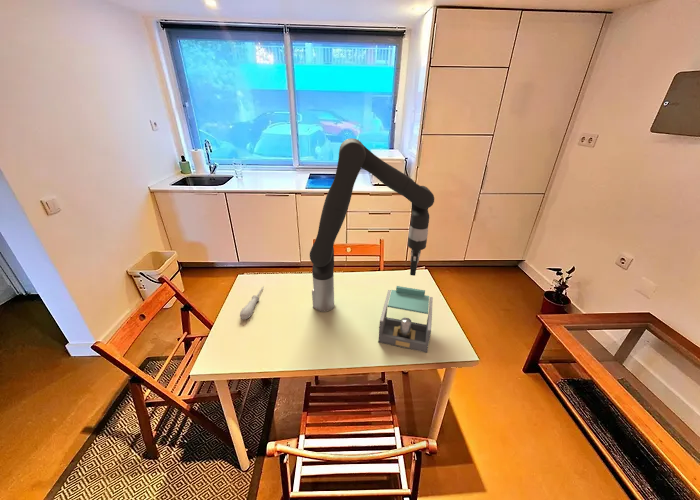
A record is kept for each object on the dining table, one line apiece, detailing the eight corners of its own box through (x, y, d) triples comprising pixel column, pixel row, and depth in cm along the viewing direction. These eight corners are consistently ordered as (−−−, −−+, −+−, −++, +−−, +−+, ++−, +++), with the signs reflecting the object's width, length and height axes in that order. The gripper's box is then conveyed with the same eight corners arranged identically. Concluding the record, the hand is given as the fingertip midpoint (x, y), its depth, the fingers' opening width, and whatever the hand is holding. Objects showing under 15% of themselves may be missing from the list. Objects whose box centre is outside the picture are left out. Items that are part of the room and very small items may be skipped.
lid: (387, 306, 117) (388, 300, 116) (391, 291, 126) (392, 285, 125) (427, 314, 113) (429, 307, 112) (428, 297, 123) (430, 291, 121)
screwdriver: (267, 290, 148) (268, 284, 146) (247, 322, 125) (248, 315, 124) (258, 288, 148) (259, 281, 146) (237, 320, 125) (237, 312, 123)
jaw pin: (399, 333, 118) (401, 316, 114) (409, 335, 117) (412, 318, 113) (398, 340, 115) (400, 323, 111) (408, 342, 114) (410, 325, 109)
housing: (378, 342, 115) (379, 320, 109) (386, 310, 132) (388, 289, 127) (427, 353, 111) (431, 330, 105) (429, 318, 128) (432, 297, 122)
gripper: (410, 228, 124) (406, 260, 132) (406, 242, 112) (402, 277, 120) (428, 230, 123) (423, 263, 130) (426, 245, 111) (421, 280, 118)
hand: (413, 270), depth 125 cm, fingers open, 7 cm apart
